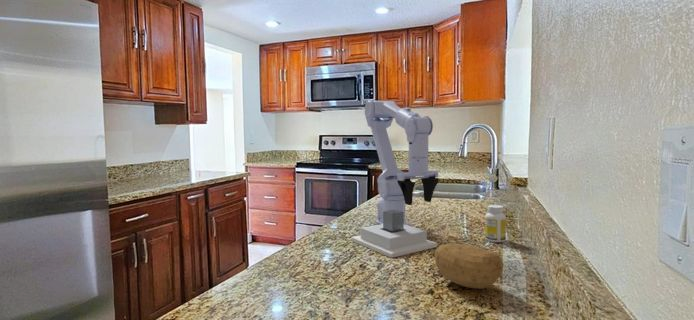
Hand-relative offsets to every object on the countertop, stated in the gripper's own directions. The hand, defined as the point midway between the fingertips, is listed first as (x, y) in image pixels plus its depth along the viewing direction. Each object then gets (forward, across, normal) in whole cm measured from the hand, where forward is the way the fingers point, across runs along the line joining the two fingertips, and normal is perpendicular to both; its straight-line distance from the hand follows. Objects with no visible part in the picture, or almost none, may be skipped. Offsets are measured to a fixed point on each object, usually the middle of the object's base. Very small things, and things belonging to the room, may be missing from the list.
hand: (418, 202), depth 109 cm
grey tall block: (+9, -11, -2) cm, 15 cm away
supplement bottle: (+10, +15, -16) cm, 24 cm away
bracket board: (+10, -11, -2) cm, 15 cm away
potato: (+10, -17, -32) cm, 38 cm away
